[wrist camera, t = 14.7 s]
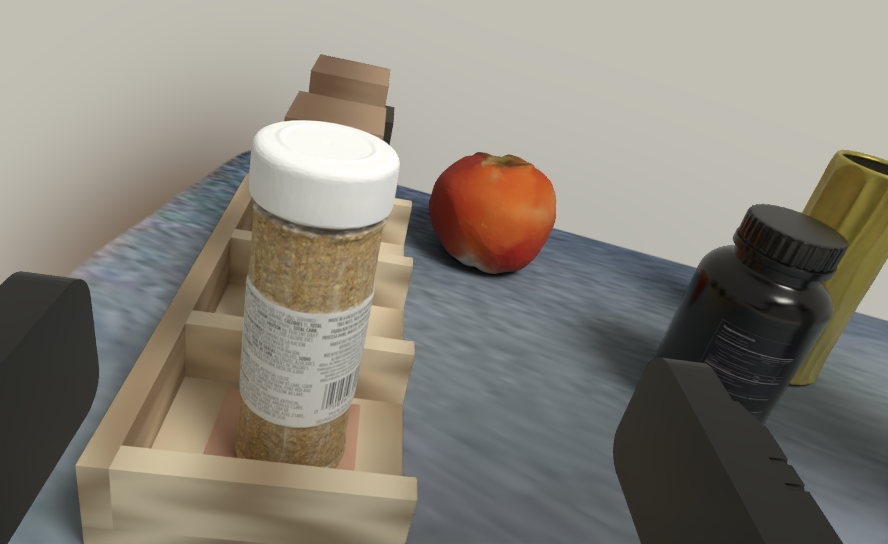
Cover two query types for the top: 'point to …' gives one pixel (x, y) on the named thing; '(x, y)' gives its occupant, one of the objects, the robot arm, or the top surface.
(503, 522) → the top surface
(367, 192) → the spice jar
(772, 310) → the supplement bottle
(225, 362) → the rail rack
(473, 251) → the tomato
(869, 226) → the vase
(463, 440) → the top surface
